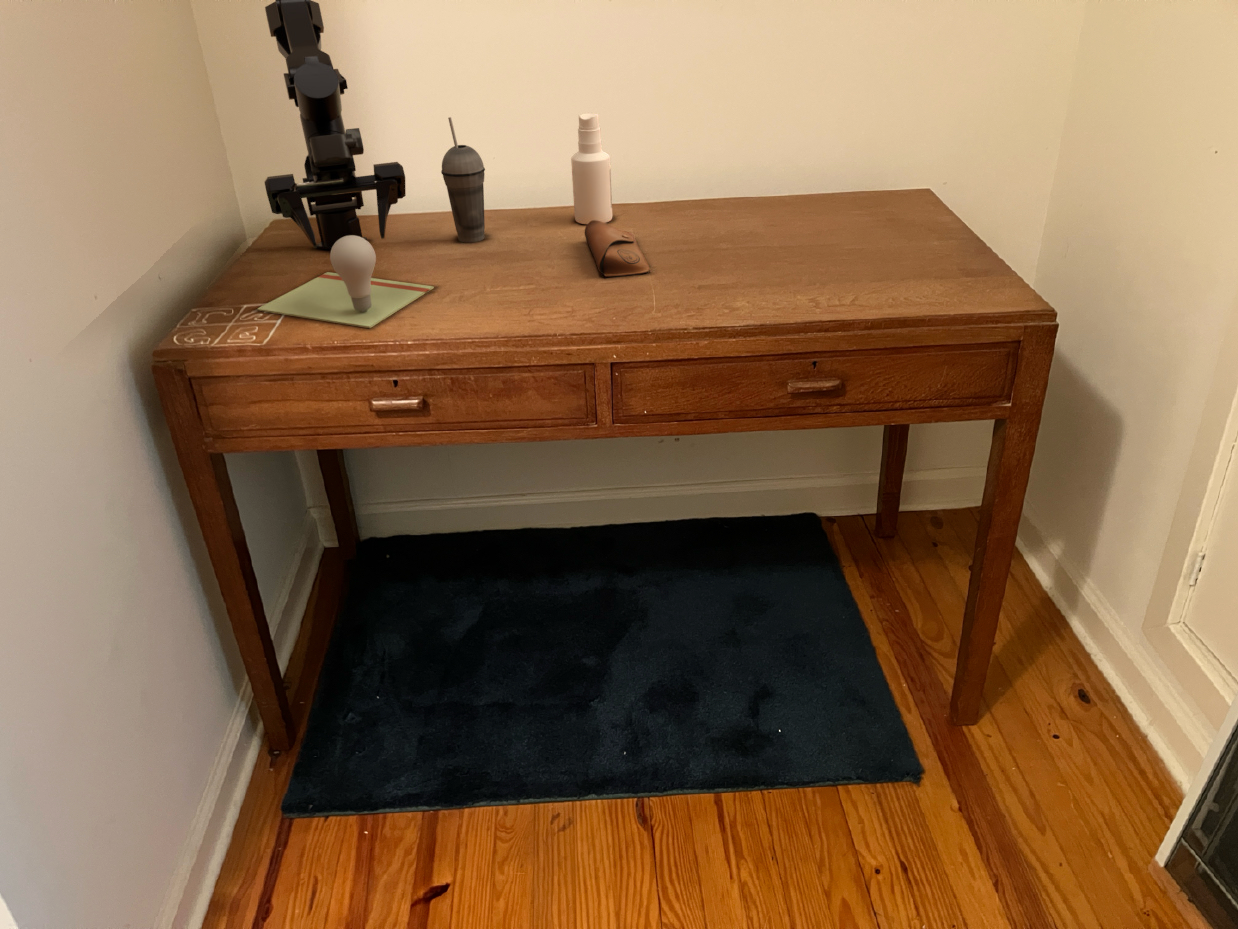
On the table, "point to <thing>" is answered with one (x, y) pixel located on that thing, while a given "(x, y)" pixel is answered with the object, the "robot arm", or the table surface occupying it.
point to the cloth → (345, 301)
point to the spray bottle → (591, 174)
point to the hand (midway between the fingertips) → (349, 241)
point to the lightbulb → (355, 268)
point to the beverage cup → (465, 189)
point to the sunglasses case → (614, 250)
